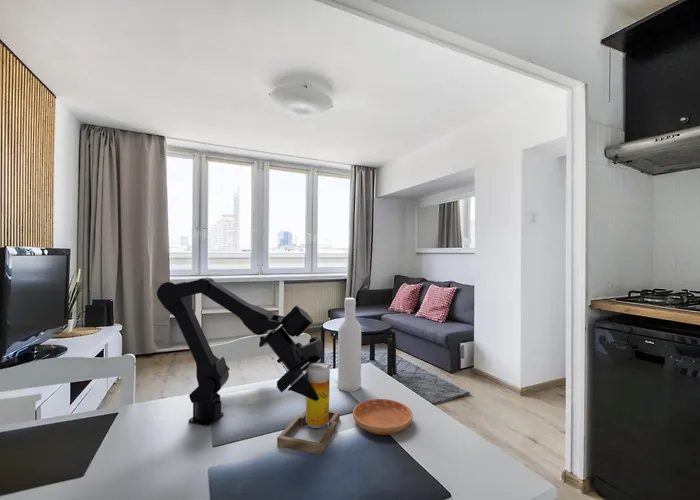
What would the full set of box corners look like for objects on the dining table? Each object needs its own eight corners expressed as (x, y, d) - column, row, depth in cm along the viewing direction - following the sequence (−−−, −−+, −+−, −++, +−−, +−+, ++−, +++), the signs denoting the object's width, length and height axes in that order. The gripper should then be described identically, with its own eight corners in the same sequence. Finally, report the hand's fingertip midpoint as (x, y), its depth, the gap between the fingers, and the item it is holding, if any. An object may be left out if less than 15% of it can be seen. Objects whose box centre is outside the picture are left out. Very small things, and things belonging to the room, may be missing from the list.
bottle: (339, 381, 115) (340, 296, 115) (361, 382, 114) (362, 297, 114) (336, 391, 107) (337, 299, 107) (360, 392, 106) (361, 300, 106)
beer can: (329, 428, 84) (331, 369, 84) (306, 430, 83) (307, 370, 83) (327, 416, 90) (328, 361, 90) (304, 418, 89) (306, 362, 89)
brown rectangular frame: (277, 446, 76) (277, 437, 76) (305, 413, 92) (305, 406, 92) (320, 454, 73) (321, 445, 73) (342, 419, 89) (342, 412, 89)
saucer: (343, 431, 84) (343, 419, 84) (364, 404, 98) (364, 394, 99) (405, 445, 78) (405, 432, 78) (417, 414, 93) (417, 404, 93)
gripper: (289, 337, 78) (331, 390, 75) (318, 322, 96) (353, 364, 93) (259, 366, 81) (299, 418, 77) (293, 346, 99) (326, 388, 95)
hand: (322, 394), depth 86 cm, fingers closed on beer can, 6 cm apart
